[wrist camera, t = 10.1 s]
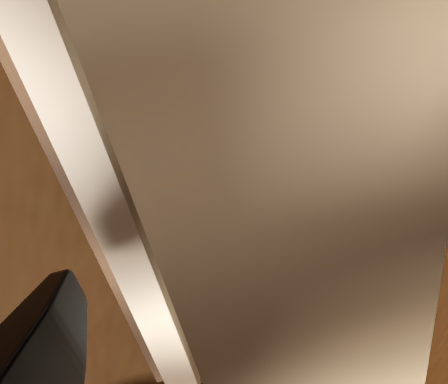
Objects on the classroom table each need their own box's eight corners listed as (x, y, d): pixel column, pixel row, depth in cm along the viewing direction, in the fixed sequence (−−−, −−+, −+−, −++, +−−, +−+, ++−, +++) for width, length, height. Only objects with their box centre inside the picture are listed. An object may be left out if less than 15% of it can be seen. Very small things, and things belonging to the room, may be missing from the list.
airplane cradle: (374, 300, 16) (452, 411, 12) (156, 361, 16) (158, 499, 12) (391, -250, 8) (682, -534, 4) (-84, -156, 7) (-417, -354, 3)
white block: (317, 295, 14) (411, 472, 9) (216, 322, 14) (254, 519, 9) (284, -84, 8) (516, -203, 3) (105, -45, 8) (19, -98, 3)
